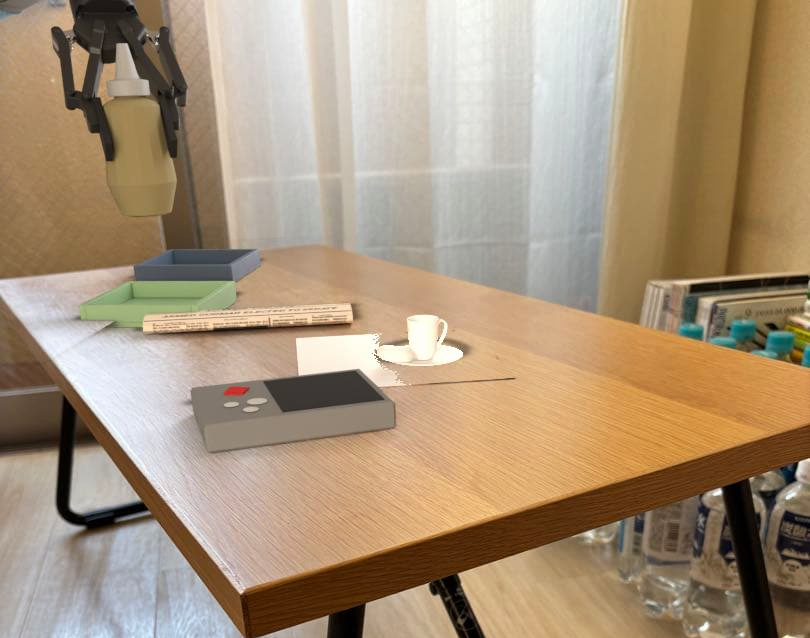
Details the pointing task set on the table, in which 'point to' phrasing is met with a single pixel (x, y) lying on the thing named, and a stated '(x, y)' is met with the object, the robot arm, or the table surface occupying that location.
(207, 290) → the green tray
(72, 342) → the table surface
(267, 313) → the newspaper
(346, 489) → the table surface
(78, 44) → the robot arm
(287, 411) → the electronic device
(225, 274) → the blue tray
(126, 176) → the squeeze bottle
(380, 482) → the table surface
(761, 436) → the table surface
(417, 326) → the teacup and saucer
